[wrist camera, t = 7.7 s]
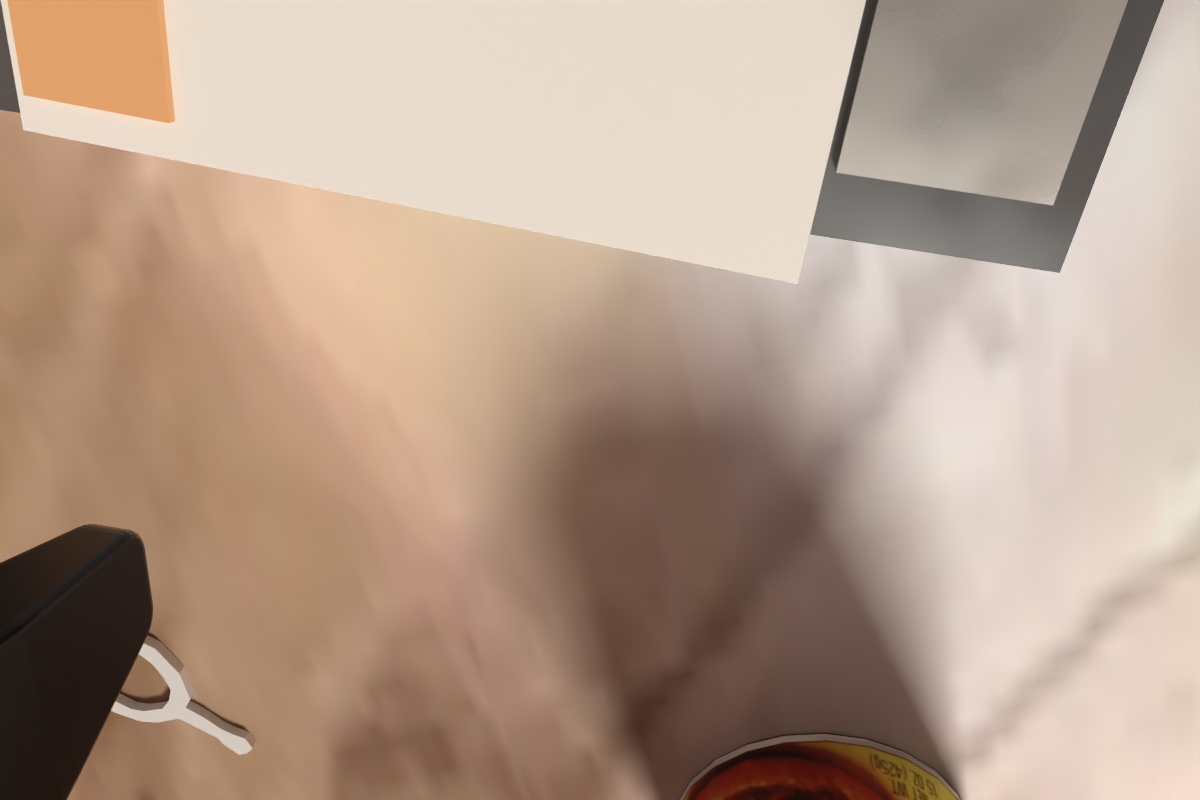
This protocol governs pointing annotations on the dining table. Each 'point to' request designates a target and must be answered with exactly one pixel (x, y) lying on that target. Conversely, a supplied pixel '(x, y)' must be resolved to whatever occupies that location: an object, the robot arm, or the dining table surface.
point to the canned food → (818, 772)
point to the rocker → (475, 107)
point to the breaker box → (963, 123)
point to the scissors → (180, 702)
